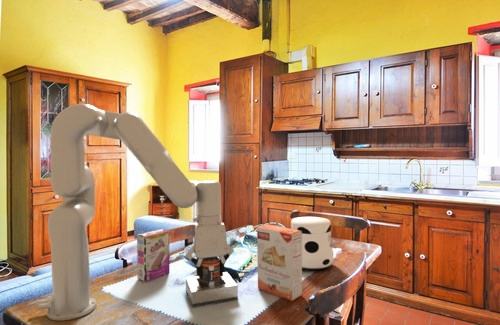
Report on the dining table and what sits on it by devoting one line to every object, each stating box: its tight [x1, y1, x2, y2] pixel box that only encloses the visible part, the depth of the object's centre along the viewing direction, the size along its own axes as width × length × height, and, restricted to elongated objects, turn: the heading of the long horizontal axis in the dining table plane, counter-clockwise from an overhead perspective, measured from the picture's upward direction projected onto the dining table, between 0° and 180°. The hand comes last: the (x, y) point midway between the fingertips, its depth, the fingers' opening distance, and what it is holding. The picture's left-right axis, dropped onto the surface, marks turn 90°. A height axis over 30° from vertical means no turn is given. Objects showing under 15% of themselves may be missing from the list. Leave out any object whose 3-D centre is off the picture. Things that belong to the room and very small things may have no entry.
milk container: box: [290, 216, 334, 271], centre depth 130 cm, size 17×17×18 cm
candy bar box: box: [136, 228, 170, 283], centre depth 120 cm, size 11×5×16 cm, turn 144°
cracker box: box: [256, 224, 303, 302], centre depth 105 cm, size 14×6×21 cm, turn 47°
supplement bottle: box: [201, 257, 220, 288], centre depth 104 cm, size 6×6×11 cm
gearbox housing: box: [185, 271, 239, 308], centre depth 104 cm, size 14×12×4 cm
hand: (210, 275), depth 104 cm, fingers closed on supplement bottle, 5 cm apart
